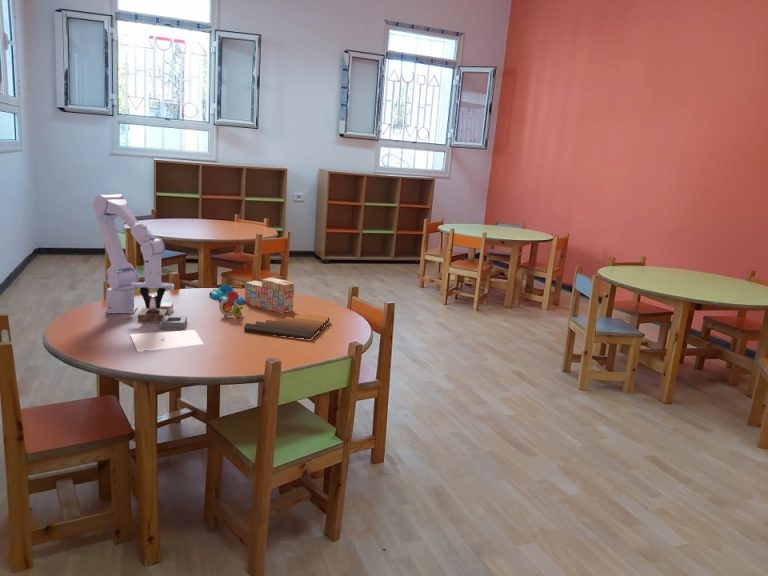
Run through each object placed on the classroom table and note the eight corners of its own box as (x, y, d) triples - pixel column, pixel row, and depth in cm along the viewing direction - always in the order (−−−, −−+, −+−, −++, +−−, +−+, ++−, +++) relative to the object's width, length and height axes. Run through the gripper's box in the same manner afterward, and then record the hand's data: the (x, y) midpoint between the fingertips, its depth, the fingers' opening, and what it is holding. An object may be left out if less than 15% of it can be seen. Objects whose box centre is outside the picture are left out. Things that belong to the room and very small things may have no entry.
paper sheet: (202, 331, 203) (202, 328, 203) (213, 363, 178) (213, 360, 178) (129, 334, 193) (129, 331, 193) (131, 368, 168) (131, 365, 168)
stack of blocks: (244, 303, 243) (245, 275, 240) (254, 301, 248) (255, 273, 246) (283, 313, 233) (284, 284, 230) (293, 311, 238) (294, 282, 236)
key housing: (156, 314, 217) (156, 306, 217) (159, 310, 223) (159, 301, 222) (170, 314, 218) (170, 306, 218) (173, 310, 224) (173, 302, 223)
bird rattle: (227, 324, 219) (248, 314, 222) (215, 299, 215) (237, 290, 218) (224, 320, 225) (245, 310, 227) (213, 295, 221) (234, 286, 223)
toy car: (230, 294, 256) (230, 280, 255) (247, 304, 243) (248, 289, 241) (207, 296, 250) (207, 281, 248) (223, 307, 236) (223, 291, 234)
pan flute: (243, 333, 206) (310, 342, 202) (244, 324, 205) (310, 333, 201) (269, 315, 230) (329, 324, 226) (269, 307, 229) (329, 315, 225)
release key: (158, 313, 218) (158, 306, 217) (161, 308, 224) (161, 301, 224) (169, 313, 218) (169, 306, 218) (172, 308, 225) (172, 301, 225)
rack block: (160, 329, 201) (160, 322, 201) (163, 322, 209) (163, 315, 208) (184, 329, 203) (184, 322, 202) (186, 322, 211) (187, 316, 210)
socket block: (137, 321, 207) (137, 314, 207) (142, 314, 216) (142, 308, 215) (164, 321, 209) (164, 315, 209) (167, 315, 218) (167, 308, 217)
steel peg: (147, 317, 211) (147, 296, 209) (149, 315, 214) (149, 294, 212) (157, 318, 211) (156, 297, 209) (158, 315, 214) (158, 295, 213)
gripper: (129, 273, 203) (129, 310, 206) (172, 275, 206) (172, 311, 209) (133, 269, 210) (133, 305, 213) (175, 271, 213) (174, 306, 216)
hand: (153, 307), depth 212 cm, fingers closed on steel peg, 3 cm apart
